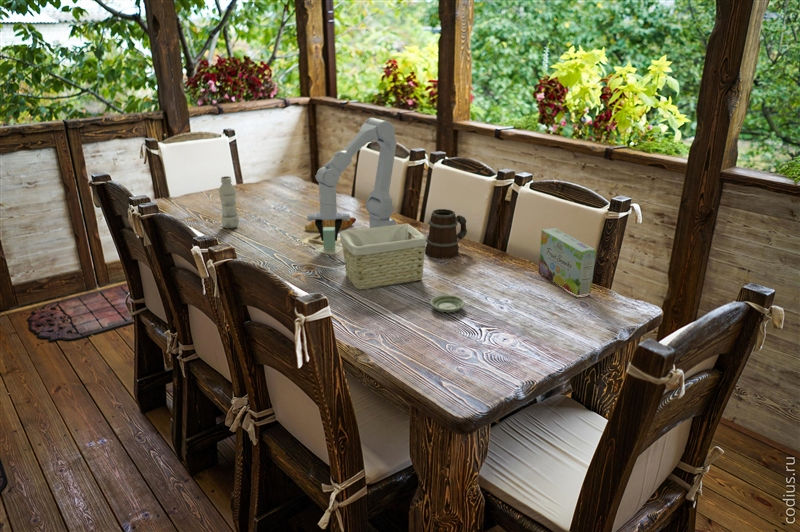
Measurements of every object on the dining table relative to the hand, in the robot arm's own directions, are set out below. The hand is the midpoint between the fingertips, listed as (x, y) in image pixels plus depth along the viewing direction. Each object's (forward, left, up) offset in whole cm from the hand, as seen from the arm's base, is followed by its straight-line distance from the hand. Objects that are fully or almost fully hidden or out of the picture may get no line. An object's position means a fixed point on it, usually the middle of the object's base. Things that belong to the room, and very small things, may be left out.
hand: (329, 239), depth 211 cm
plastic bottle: (+48, -3, -4) cm, 49 cm away
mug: (-37, -20, -4) cm, 42 cm away
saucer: (-56, +22, -4) cm, 60 cm away
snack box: (-80, -11, -4) cm, 81 cm away
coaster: (0, 0, -4) cm, 4 cm away
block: (0, 0, -2) cm, 3 cm away
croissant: (+14, -21, -4) cm, 26 cm away
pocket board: (+7, -7, -4) cm, 11 cm away
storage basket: (-28, +12, -4) cm, 31 cm away
